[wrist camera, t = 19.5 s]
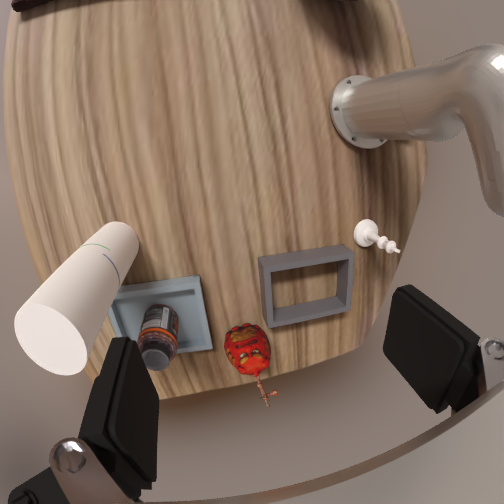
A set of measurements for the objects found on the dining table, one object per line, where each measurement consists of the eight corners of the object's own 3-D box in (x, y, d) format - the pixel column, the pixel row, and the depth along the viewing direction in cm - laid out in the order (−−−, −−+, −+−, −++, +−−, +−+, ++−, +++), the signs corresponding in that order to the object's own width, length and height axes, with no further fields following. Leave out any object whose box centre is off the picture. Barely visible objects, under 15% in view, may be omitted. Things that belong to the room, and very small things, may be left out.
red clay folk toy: (258, 315, 49) (281, 373, 35) (269, 343, 52) (292, 401, 38) (217, 330, 49) (227, 391, 35) (231, 357, 52) (244, 418, 38)
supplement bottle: (180, 331, 47) (179, 376, 36) (147, 332, 46) (138, 376, 35) (177, 301, 45) (173, 344, 34) (141, 302, 44) (129, 344, 33)
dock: (343, 244, 48) (354, 252, 44) (340, 299, 52) (350, 310, 48) (257, 257, 46) (263, 267, 42) (262, 315, 49) (268, 328, 46)
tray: (199, 274, 45) (199, 281, 42) (211, 340, 49) (212, 348, 47) (105, 288, 43) (101, 295, 40) (128, 349, 47) (125, 358, 45)
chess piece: (369, 249, 49) (402, 270, 40) (349, 241, 48) (381, 262, 38) (380, 224, 48) (415, 241, 39) (360, 215, 46) (394, 231, 37)
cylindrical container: (118, 274, 42) (64, 386, 19) (88, 242, 40) (4, 333, 16) (148, 245, 42) (103, 350, 19) (116, 211, 39) (34, 285, 16)
